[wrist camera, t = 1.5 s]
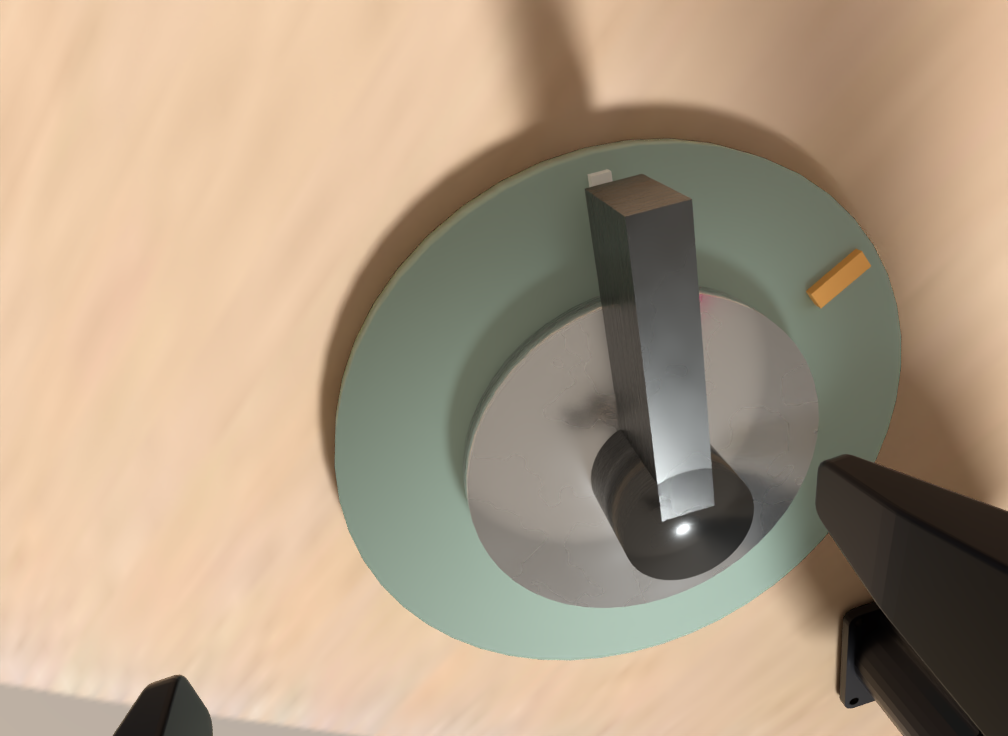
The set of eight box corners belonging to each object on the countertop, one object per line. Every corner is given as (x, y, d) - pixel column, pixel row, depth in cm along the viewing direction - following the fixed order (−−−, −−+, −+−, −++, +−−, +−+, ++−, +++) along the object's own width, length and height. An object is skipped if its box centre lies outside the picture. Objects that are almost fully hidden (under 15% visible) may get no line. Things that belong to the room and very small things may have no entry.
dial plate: (868, 556, 30) (889, 577, 29) (422, 699, 29) (425, 727, 28) (900, 67, 21) (932, 70, 20) (238, 235, 19) (232, 249, 18)
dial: (801, 533, 27) (869, 609, 24) (503, 626, 26) (528, 721, 22) (802, 121, 20) (901, 143, 16) (388, 228, 19) (398, 276, 15)
